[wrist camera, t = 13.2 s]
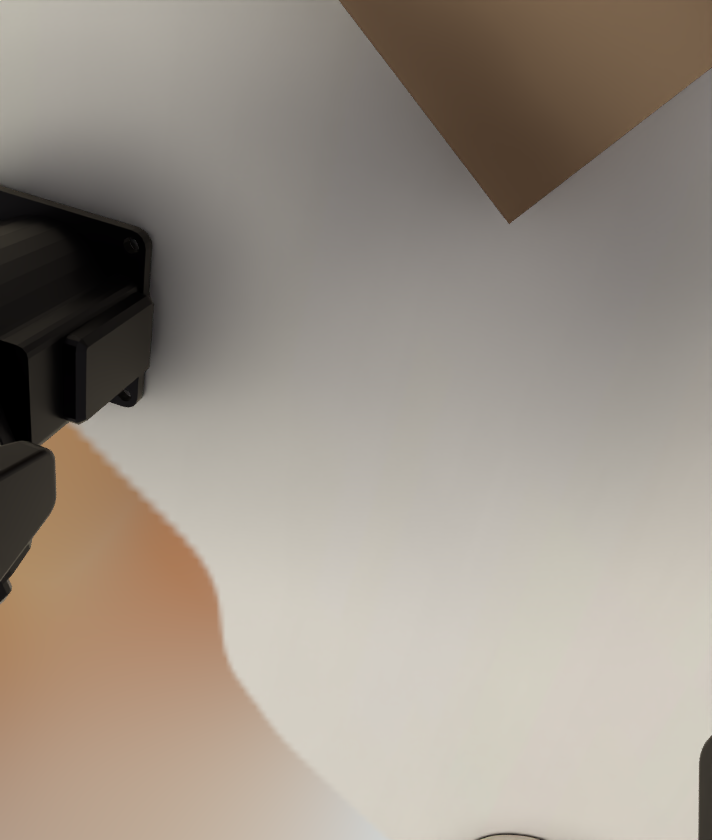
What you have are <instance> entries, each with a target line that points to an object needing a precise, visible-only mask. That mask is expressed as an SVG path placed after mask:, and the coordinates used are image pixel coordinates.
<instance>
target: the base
mask: <svg viewBox="0 0 712 840" xmlns="http://www.w3.org/2000/svg"><path fill="white" fill-rule="evenodd" d="M339 1H340V2H341V4H342V5H343V6H344V8H345V9H346V10H347V12H348V13H349V14H350V15H351V17H352V18H353V19H354V21H355V22H356V23H357V25H358V26H359V27H360V29H361V30H362V31H363V33H364V34H365V35H366V37H367V38H368V39H369V40H370V42H371V43H372V44H373V46H374V47H375V48H376V50H377V51H378V52H379V54H380V55H381V56H382V58H383V59H384V60H385V62H386V63H387V64H388V65H389V67H390V68H391V69H392V71H393V72H394V73H395V75H396V76H397V77H398V79H399V80H400V81H401V83H402V84H403V85H404V87H405V88H406V89H407V90H408V92H409V93H410V94H411V96H412V97H413V98H414V100H415V101H416V102H417V104H418V105H419V106H420V108H421V109H422V110H423V112H424V113H425V114H426V115H427V117H428V118H429V119H430V121H431V122H432V123H433V125H434V126H435V127H436V129H437V130H438V131H439V133H440V134H441V135H442V137H443V138H444V139H445V140H446V142H447V143H448V144H449V146H450V147H451V148H452V150H453V151H454V152H455V154H456V155H457V156H458V158H459V159H460V160H461V161H462V163H463V164H464V165H465V167H466V168H467V169H468V171H469V172H470V173H471V175H472V176H473V177H474V179H475V180H476V181H477V183H478V184H479V185H480V186H481V188H482V189H483V190H484V192H485V193H486V194H487V196H488V197H489V198H490V200H491V201H492V202H493V204H494V205H495V206H496V208H497V209H498V210H499V211H500V213H501V214H502V215H503V217H504V218H505V219H506V221H507V222H508V223H509V224H510V223H511V222H512V221H514V220H515V219H516V218H517V217H519V216H520V215H521V214H523V213H524V212H525V211H526V210H528V209H529V208H530V207H532V206H533V205H534V204H536V203H537V202H538V201H539V200H541V199H542V198H543V197H545V196H546V195H547V194H549V193H550V192H551V191H552V190H554V189H555V188H556V187H558V186H559V185H560V184H561V183H563V182H564V181H565V180H567V179H568V178H569V177H571V176H572V175H573V174H574V173H576V172H577V171H578V170H580V169H581V168H582V167H583V166H585V165H586V164H587V163H589V162H590V161H591V160H593V159H594V158H595V157H596V156H598V155H599V154H600V153H602V152H603V151H604V150H605V149H607V148H608V147H609V146H611V145H612V144H613V143H615V142H616V141H617V140H618V139H620V138H621V137H622V136H624V135H625V134H626V133H628V132H629V131H630V130H631V129H633V128H634V127H635V126H637V125H638V124H639V123H640V122H642V121H643V120H644V119H646V118H647V117H648V116H650V115H651V114H652V113H653V112H655V111H656V110H657V109H659V108H660V107H661V106H662V105H664V104H665V103H666V102H668V101H669V100H670V99H672V98H673V97H674V96H675V95H677V94H678V93H679V92H681V91H682V90H683V89H684V88H686V87H687V86H688V85H690V84H691V83H692V82H694V81H695V80H696V79H697V78H699V77H700V76H701V75H703V74H704V73H705V72H707V71H708V70H709V69H710V68H712V0H339Z"/></svg>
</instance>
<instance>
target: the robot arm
mask: <svg viewBox="0 0 712 840" xmlns="http://www.w3.org/2000/svg"><path fill="white" fill-rule="evenodd" d="M130 238H133V239H134V240H136V242H137V243H138V247H139V249H138V250H135V249H134V248H133V247H132V246H131V244H130ZM151 255H152V243H151V239H150V237H149V235H148V234H147V233H146V232H145V231H144V230H143V229H141V228H139V227H136V226H133V225H129V224H126V223H123V222H119V221H116V220H113V219H109V218H106V217H103V216H99V215H96V214H93V213H89V212H86V211H83V210H79V209H76V208H73V207H69V206H66V205H63V204H59V203H56V202H53V201H49V200H46V199H43V198H39V197H36V196H33V195H29V194H26V193H23V192H19V191H16V190H13V189H9V188H6V187H3V186H0V604H1V603H2V602H3V601H4V600H5V598H6V597H7V596H8V594H9V593H10V592H11V589H12V586H11V583H10V581H9V578H10V577H11V575H12V574H13V573H14V571H15V570H16V568H17V567H18V566H19V564H20V563H21V561H22V560H23V558H24V557H25V555H26V554H27V552H28V551H29V549H30V547H31V542H32V538H33V536H34V535H35V534H36V532H37V531H38V530H39V528H40V527H41V526H42V524H43V523H44V522H45V520H46V519H47V518H48V516H49V515H50V513H51V511H52V509H53V507H54V504H55V500H56V474H55V457H54V454H53V453H52V451H50V450H49V449H47V448H44V447H42V446H40V445H41V444H43V443H44V442H45V441H46V440H48V439H49V438H50V437H51V436H53V435H54V434H55V433H56V432H57V431H58V430H60V429H61V428H62V427H64V426H65V425H66V424H67V423H68V422H72V423H75V424H78V425H79V424H81V423H83V422H85V421H87V420H88V419H89V418H91V417H92V416H93V415H94V414H95V413H96V412H98V411H99V410H100V409H101V408H102V407H103V406H105V405H106V404H107V403H108V402H111V403H114V404H117V405H120V406H123V407H132V406H134V405H135V404H136V403H137V402H138V401H139V400H140V399H141V398H142V396H143V385H144V372H145V371H146V370H147V369H148V368H149V366H150V353H151V337H152V322H153V307H154V304H153V302H152V300H151V298H150V296H149V288H150V271H151ZM124 389H126V390H128V391H129V393H130V394H131V396H129V395H127V394H126V393H125V392H124ZM698 840H712V736H711V737H710V738H709V739H708V740H707V741H706V743H705V744H704V746H703V748H702V751H701V755H700V761H699V834H698Z"/></svg>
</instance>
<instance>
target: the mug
mask: <svg viewBox="0 0 712 840" xmlns="http://www.w3.org/2000/svg"><path fill="white" fill-rule="evenodd" d="M480 840H539V839H535V838H531V837H526V836H519V835H497V836H490V837H486V838H483V839H480Z"/></svg>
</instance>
